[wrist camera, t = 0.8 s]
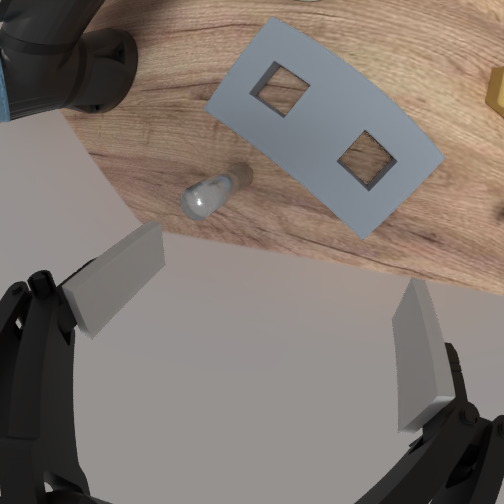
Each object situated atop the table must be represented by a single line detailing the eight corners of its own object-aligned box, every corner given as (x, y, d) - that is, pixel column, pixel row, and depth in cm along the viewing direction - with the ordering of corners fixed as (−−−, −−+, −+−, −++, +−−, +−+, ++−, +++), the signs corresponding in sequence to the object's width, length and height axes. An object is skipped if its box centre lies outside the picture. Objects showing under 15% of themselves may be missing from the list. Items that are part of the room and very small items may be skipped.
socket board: (214, 109, 31) (203, 109, 29) (278, 24, 23) (271, 16, 21) (361, 230, 32) (362, 240, 30) (437, 153, 25) (445, 157, 22)
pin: (225, 176, 35) (175, 205, 25) (238, 158, 33) (190, 180, 23) (244, 192, 35) (200, 227, 25) (258, 173, 33) (217, 202, 23)
